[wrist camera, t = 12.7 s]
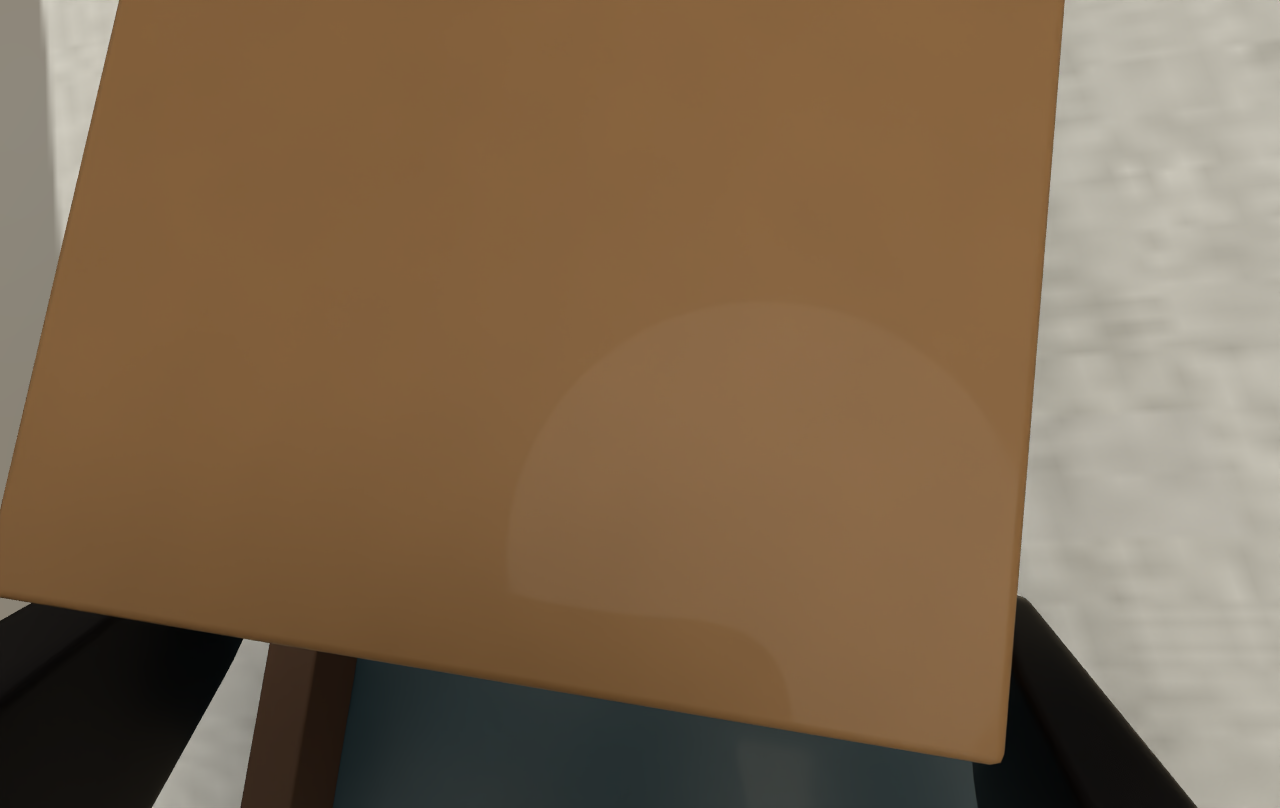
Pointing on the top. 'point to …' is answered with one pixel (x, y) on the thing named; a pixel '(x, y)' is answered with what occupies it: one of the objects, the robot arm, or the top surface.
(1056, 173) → the top surface
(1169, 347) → the top surface
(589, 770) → the board
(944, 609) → the cardboard carton
